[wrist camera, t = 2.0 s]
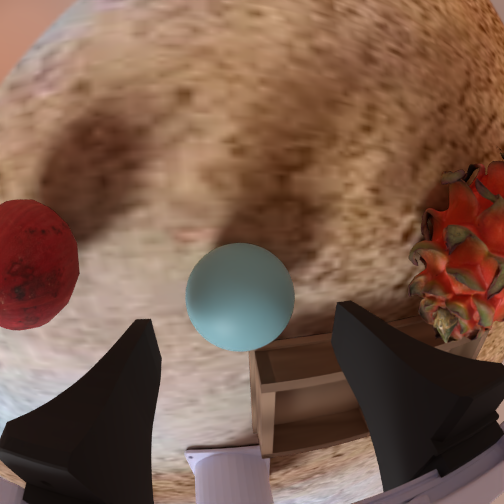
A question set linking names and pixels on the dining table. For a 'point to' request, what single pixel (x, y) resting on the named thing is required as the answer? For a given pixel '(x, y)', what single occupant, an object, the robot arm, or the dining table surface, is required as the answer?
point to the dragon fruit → (463, 256)
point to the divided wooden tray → (318, 390)
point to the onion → (34, 264)
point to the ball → (240, 297)
